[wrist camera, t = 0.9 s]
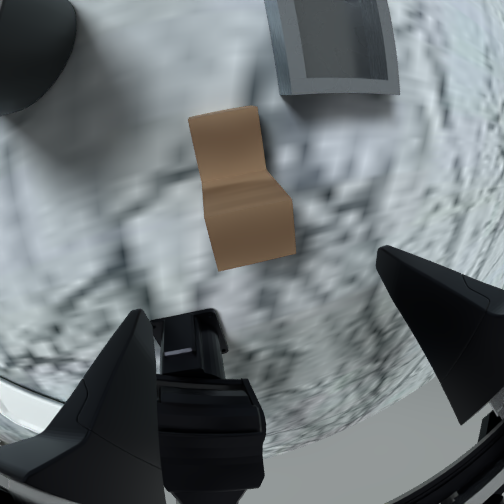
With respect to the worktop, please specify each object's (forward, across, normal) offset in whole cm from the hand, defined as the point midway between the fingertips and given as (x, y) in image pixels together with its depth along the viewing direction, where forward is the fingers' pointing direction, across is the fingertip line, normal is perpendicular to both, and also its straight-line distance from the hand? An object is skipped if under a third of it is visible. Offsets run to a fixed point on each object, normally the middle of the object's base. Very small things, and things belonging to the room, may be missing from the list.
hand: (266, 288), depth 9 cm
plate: (+12, +46, +30) cm, 56 cm away
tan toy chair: (+11, 0, -1) cm, 11 cm away
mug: (+11, +12, -17) cm, 23 cm away
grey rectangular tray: (+11, -8, -11) cm, 18 cm away
